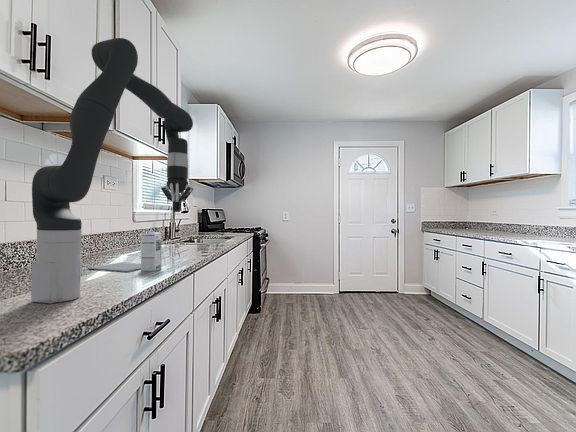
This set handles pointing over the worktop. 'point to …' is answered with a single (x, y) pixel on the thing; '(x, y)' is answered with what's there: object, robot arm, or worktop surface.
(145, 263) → the syrup box
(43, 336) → the worktop surface
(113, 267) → the mat
